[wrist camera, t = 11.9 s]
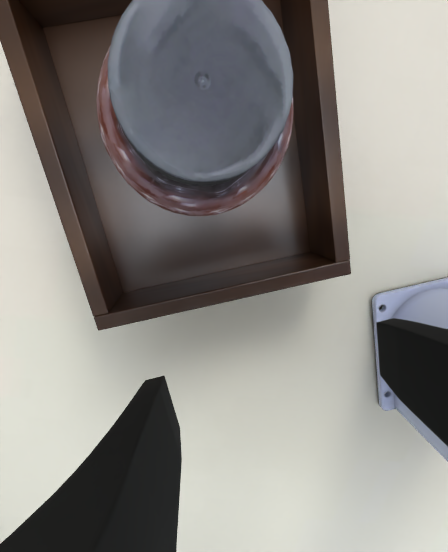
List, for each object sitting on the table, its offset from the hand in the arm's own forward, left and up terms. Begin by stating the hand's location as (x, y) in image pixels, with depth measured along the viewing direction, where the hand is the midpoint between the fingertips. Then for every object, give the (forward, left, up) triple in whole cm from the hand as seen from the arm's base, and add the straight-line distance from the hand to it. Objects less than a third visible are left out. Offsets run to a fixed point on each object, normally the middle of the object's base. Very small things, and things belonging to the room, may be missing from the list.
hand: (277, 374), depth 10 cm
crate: (+8, +1, -10) cm, 13 cm away
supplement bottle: (+8, +1, -10) cm, 13 cm away
